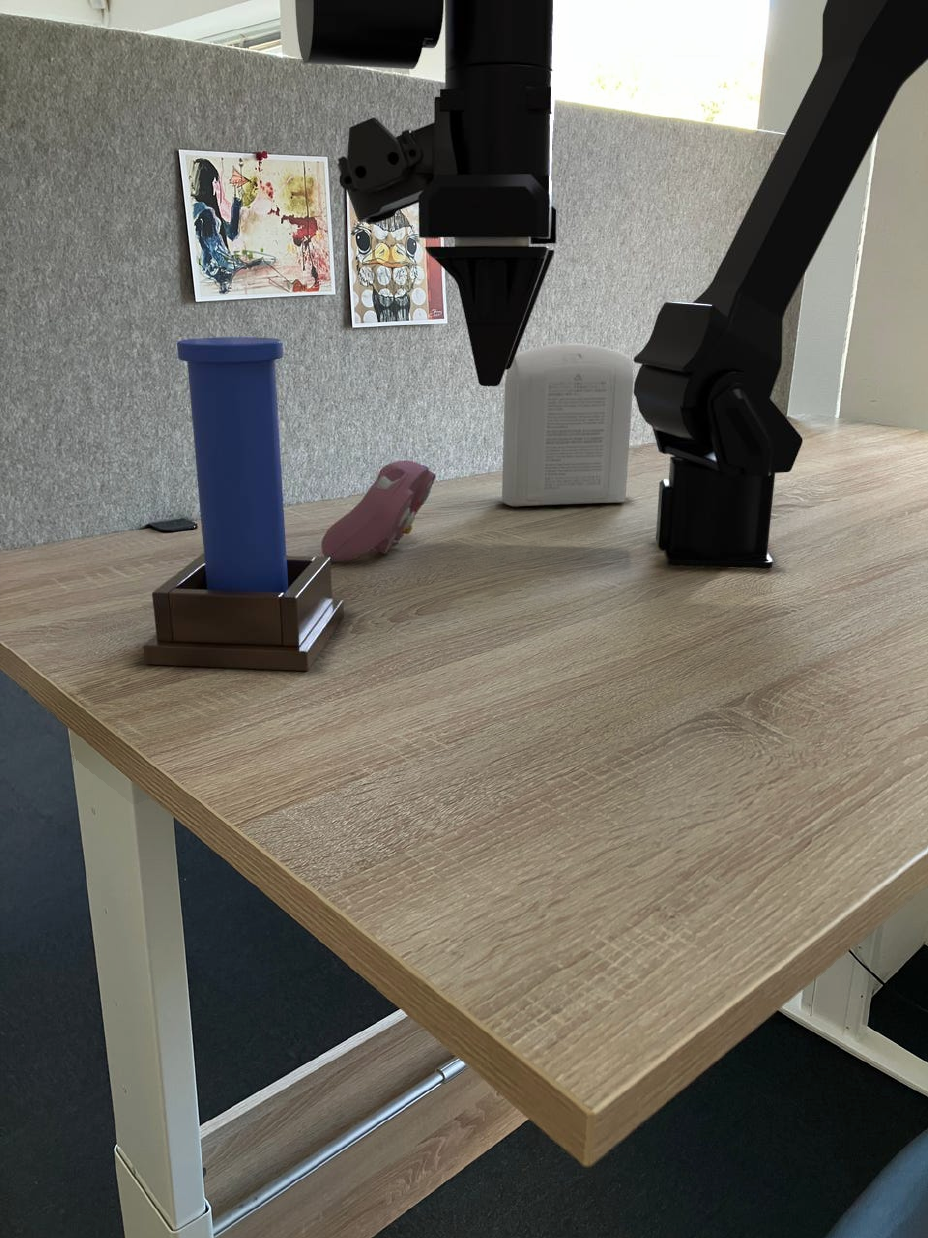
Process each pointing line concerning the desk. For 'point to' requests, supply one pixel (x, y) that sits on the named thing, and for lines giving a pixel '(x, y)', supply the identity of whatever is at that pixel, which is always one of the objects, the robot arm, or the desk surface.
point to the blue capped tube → (238, 460)
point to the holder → (245, 620)
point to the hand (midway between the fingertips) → (495, 376)
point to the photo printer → (567, 426)
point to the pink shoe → (380, 512)
